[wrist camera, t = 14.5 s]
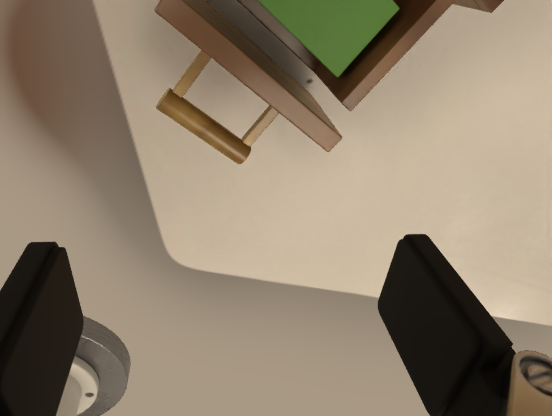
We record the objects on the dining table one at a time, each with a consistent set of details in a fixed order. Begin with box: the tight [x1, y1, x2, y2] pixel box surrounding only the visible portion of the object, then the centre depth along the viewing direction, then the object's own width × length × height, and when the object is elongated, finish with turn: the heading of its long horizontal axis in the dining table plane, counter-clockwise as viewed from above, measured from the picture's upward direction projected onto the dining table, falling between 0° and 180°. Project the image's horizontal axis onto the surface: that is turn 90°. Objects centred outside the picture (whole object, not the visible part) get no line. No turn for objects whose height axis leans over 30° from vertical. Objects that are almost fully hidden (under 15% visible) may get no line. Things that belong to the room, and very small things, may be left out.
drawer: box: [155, 0, 455, 164], centre depth 21 cm, size 18×11×8 cm, turn 138°
